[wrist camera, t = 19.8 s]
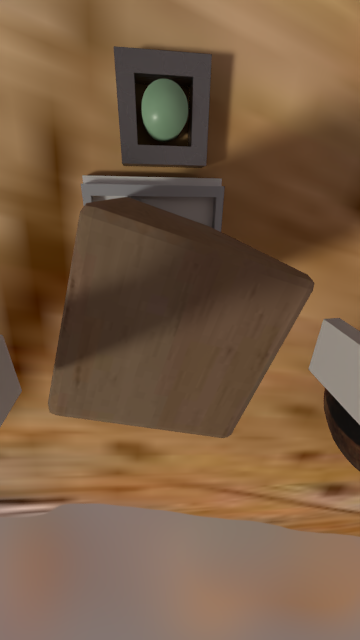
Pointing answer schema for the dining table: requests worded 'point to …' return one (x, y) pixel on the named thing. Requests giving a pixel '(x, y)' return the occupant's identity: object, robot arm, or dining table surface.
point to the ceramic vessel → (343, 429)
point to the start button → (164, 110)
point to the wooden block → (168, 321)
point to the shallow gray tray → (163, 194)
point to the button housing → (145, 70)
